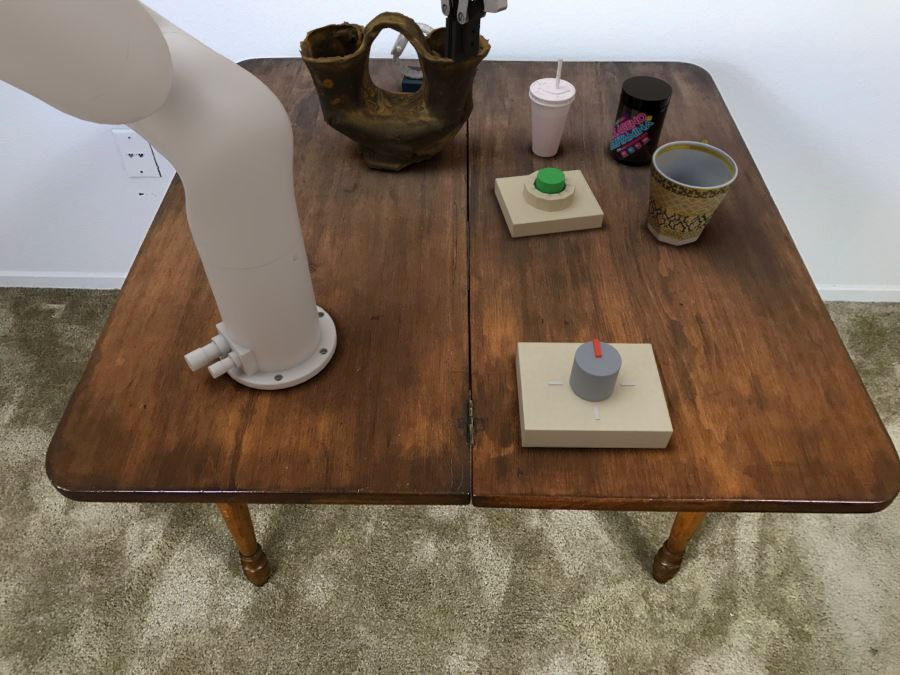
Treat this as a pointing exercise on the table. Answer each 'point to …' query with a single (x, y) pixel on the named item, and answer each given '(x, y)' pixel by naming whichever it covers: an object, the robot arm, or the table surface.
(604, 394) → the program dial
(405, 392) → the table surface
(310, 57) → the pottery vessel
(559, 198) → the block
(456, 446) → the table surface
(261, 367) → the robot arm
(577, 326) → the table surface
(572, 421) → the control panel
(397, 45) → the watch
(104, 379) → the table surface
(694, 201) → the ceramic cup
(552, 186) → the button
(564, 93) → the smoothie
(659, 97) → the supplement container
